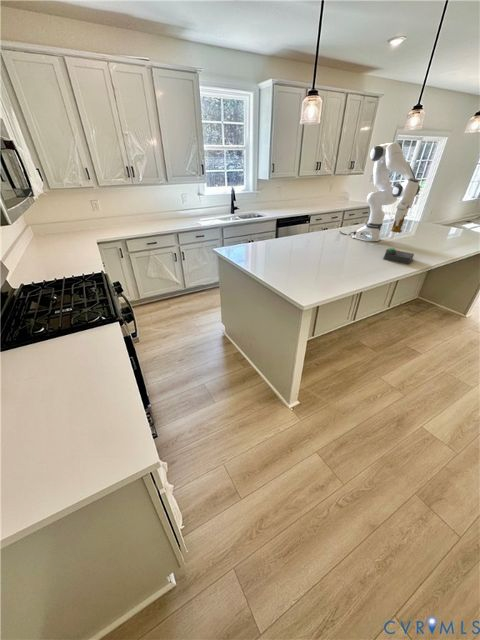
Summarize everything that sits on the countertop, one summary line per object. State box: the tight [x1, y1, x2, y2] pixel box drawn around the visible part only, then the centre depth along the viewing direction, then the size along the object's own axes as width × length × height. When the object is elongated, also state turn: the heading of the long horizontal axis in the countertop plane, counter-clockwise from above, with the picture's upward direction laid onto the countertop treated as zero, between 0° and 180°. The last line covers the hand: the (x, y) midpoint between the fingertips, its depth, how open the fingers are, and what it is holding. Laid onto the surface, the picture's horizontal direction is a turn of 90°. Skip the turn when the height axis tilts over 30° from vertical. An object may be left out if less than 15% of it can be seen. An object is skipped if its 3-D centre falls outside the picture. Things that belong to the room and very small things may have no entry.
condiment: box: [389, 215, 406, 234], centre depth 190 cm, size 7×8×12 cm
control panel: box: [383, 248, 415, 265], centre depth 185 cm, size 17×13×6 cm
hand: (398, 224), depth 190 cm, fingers closed on condiment, 6 cm apart
